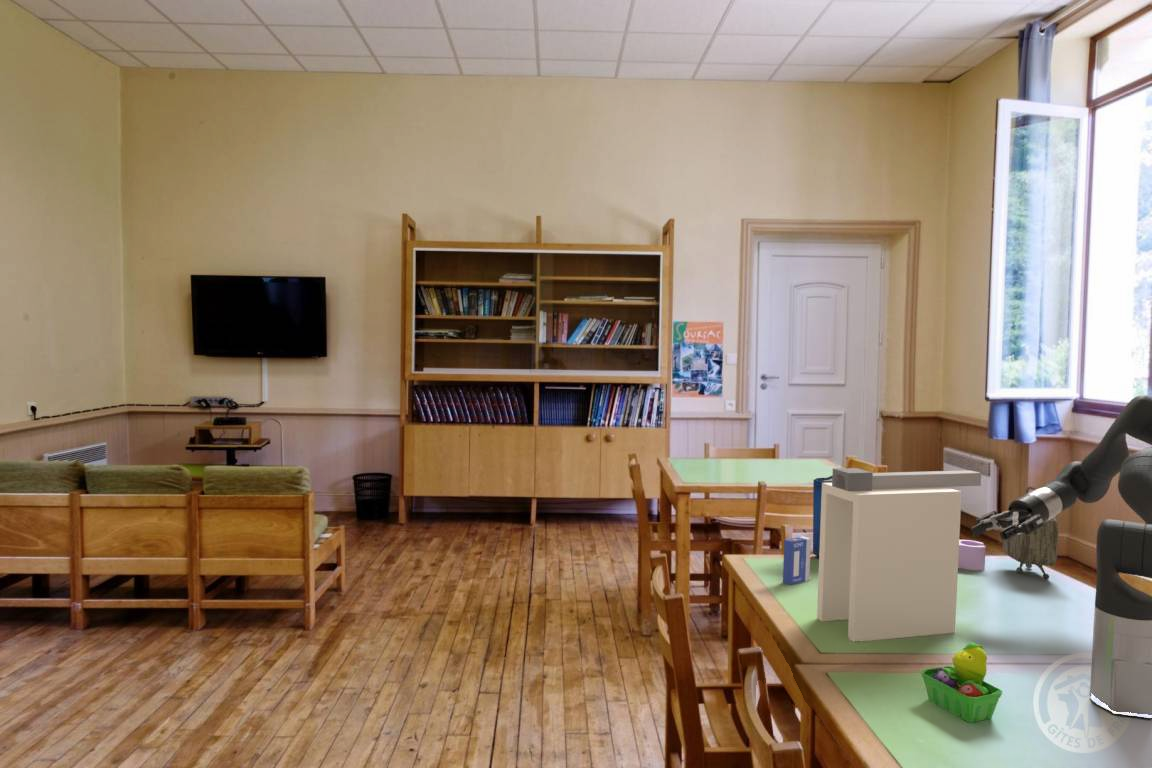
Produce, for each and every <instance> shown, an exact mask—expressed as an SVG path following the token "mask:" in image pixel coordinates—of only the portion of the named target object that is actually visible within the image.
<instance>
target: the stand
mask: <svg viewBox="0 0 1152 768" xmlns="http://www.w3.org/2000/svg"><path fill="white" fill-rule="evenodd" d="M962 494H963V493H962V491H961V490H957V489H954V488H950V487H926V488H896V489H872V491H846V490H843V489H839V488H836V487H833V486H832V483H822V496H821V523H820V550H819V558H818V577H817V578H818V579H817V580H818V581H817V582H818V583H817V609H816V619H817V620H819V621H820V622H834V620H835V621H846V620H847V621H848V628H847V629H848V630H847V639H848V638H849V639H848V640H849V641H851V640H852V641H851V642H852V643H855V641H856V643H857V641H859V642H867V641H878V640H888V639H889V640H890V639H899V638H910V637H911V638H912V637H920V636H921V637H924V636H933V635H944V634H955V633H956V617H957V598H958V597H957V596H958V579H959V577H958V574H959V568H958V557H959V540H960V534H961V516H962V515H961V512H962V509H961V508H962Z"/></svg>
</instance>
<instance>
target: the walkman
mask: <svg viewBox="0 0 1152 768" xmlns="http://www.w3.org/2000/svg"><path fill="white" fill-rule="evenodd" d="M811 540H812V539H811V537H807V536H803V535H802V536H797V537H793V538H792V537H791V538H787V539H786V538H785V539H784V540H783V541H784V542H783V567H782V583H785V584H787V585H789V586H793V585H796V584H800V583H805V582H808V581H810V568H811V567H810V566H811V543H812V541H811Z"/></svg>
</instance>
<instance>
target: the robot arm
mask: <svg viewBox="0 0 1152 768" xmlns="http://www.w3.org/2000/svg"><path fill="white" fill-rule="evenodd" d="M1126 435H1128V436H1130V437H1132V438H1135V439H1136V440H1138V441H1141V442H1144V443H1146V444H1147V445H1150V447H1146V448H1143V449H1140V450H1137V451H1135V452H1133V453H1131V454H1130V452H1129V448H1128V447H1129V446H1128V443H1127V439H1126V438H1127V437H1126ZM1118 474H1119V477H1118V481H1117V489H1118V490H1117V491H1118V492H1119V494H1120V497H1121V499H1122V500H1123V501H1124V502H1125V504H1126V505H1127V506H1128V507H1129V509H1131V510H1132V511H1133V512H1134V513H1135V514H1136V515H1137V516H1138V517H1140V518H1141V519H1142V520H1143V521H1144V522H1145V523H1141V522H1135V521H1128V520H1118V519H1113V518H1112V519H1110V518H1107V519H1103V520H1102V521H1101V522H1100V524H1099V525H1098V529H1097V534H1096V585H1095V587H1096V588H1095V599H1094V615H1093V616H1094V618H1093V629H1092V630H1093V631H1092V647H1091V648H1092V649H1091V665H1090V685H1089V686H1090V687H1089V693H1090V692H1091V693H1092V694H1093V695H1094V696H1095V697H1096V698H1098V699H1099V700H1100V701H1101V702H1103V703H1105V704H1106V705H1108V707H1109V708H1110V709H1111V710H1113V711H1116V712H1129V713H1130V712H1131V713H1137V714H1148V715H1152V595H1150V594H1148V593H1146V592H1144V591H1141V590H1139V589H1138V588H1136V587H1134V586H1133V585H1131V584H1129V583H1128V582H1127V581H1125V579H1123V578H1122V577H1121V576H1120V574H1126V575H1130V576H1131V575H1132V576H1137V577H1138V576H1139V577H1143V578H1148V579H1149V578H1150V579H1152V396H1148V395H1145V394H1140V395H1137V396H1134V397H1133V398H1132V399H1130V400H1129V401H1128V403H1127V404H1126V405H1125V406H1124V408H1123V409H1122V410H1121V411H1120V413H1119V414H1118V416H1117V417H1116V418H1115V420H1113V423H1112V424H1111V425H1110V427H1109V428H1108V429H1107V431H1106V433H1105V434H1104V436H1103V437H1102V439H1101V440H1100V442H1099V443H1098V444H1097V446H1095V448H1094V449H1092V450H1091V451H1090V453H1088V455H1086V456H1085V457H1084V458H1083V460H1081V461H1079V460H1076V461H1071V462H1069V463H1067V464H1066V465H1065V466H1064V467H1063V468H1062V469H1061V470H1060V471H1059V473H1058V474H1057V475H1056V476H1055V478H1054V479H1052V480H1051V481H1050V482H1048V483H1046V484H1044V485H1043V486H1041V487H1039V488H1035V489H1036V490H1033V489H1032V490H1031V491H1028V493H1027V494H1026V493H1025V494H1024V495H1021V496H1020V497H1018V498H1016V499H1014V500H1012V501H1011V502H1010V503H1009V505H1008V509H1007V510H1004V511H1002V512H1001V513H998V512H997V510H992V511H990V512H989V513H988V512H987V513H986V514H984V515H981V516H980V517H978V518H976V520H975V521H976V522H977V523H976V524H975V525H974V526H972V527H971V528H970V532H971V535H972V537H979V536H980V535H982V534H983V533H986V532H988V531H991V530H994V531H999V532H998V533H999V536H1000V538H1001V540H1007V539H1009V538H1011V537H1013V536H1014V535H1020V534H1022V533H1024V534H1030V533H1032V532H1033V531H1035V530H1037V529H1038V528H1040V527H1041V526H1043V525H1044V522H1046V521H1048V520H1050V519H1052V518H1053V517H1054V518H1056V516H1057V515H1058V514H1060V513H1062V512H1063V511H1065V510H1067V509H1069V508H1070V507H1072V506H1073V505H1074V504H1076V501H1077V500H1079V501H1080V502H1082V503H1086V504H1094V503H1098V502H1099V501H1100V500H1102V499H1103V498H1104V497H1105V496H1106V495H1107V493H1108V491H1109V489H1110V487H1111V483H1112V481H1113V478H1114V477H1116V475H1118ZM998 523H999V525H998ZM1004 528H1005V529H1004Z"/></svg>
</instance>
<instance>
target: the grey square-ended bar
mask: <svg viewBox="0 0 1152 768" xmlns="http://www.w3.org/2000/svg"><path fill="white" fill-rule="evenodd" d="M831 476H832V486H833V487H836V488H839V489H843V490H846V491H872V489H896V488H926V487H947V488H950V487H953V488H954V487H980V486H982V485H981V484H982V473H981V472H979V471H975V470H970V469H969V470H965V469H964V470H934V471H930V470H929V471H928V470H927V471H897V472H896V471H895V472H893V471H891V472H890V471H889V472H872V471H870V470H869V471H868V470H865V469H861V468H858V467H847V468H843V467H841V468H832V475H831Z"/></svg>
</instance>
